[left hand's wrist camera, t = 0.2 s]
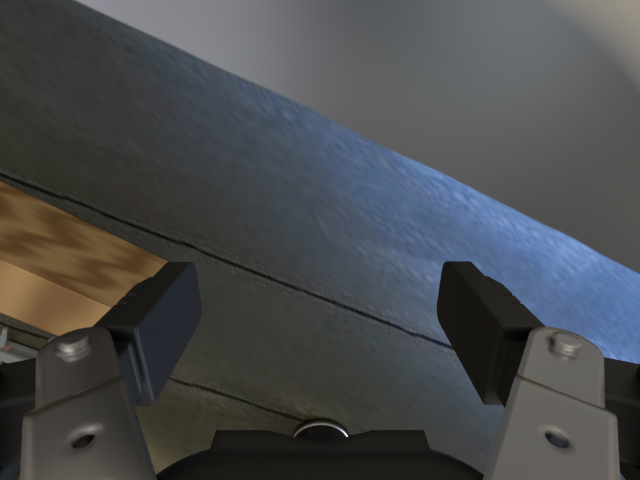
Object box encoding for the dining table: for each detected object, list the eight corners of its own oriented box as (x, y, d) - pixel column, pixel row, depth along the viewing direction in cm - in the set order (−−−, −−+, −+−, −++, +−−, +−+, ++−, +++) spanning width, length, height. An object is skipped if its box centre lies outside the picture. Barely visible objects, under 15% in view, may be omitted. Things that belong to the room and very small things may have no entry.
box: (174, 264, 44) (127, 315, 34) (158, 298, 46) (109, 357, 35) (-23, 169, 40) (-151, 193, 29) (-32, 211, 42) (-155, 248, 31)
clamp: (81, 356, 47) (66, 405, 50) (91, 346, 49) (76, 394, 52) (-36, 313, 44) (-45, 368, 48) (-20, 304, 46) (-29, 357, 50)
